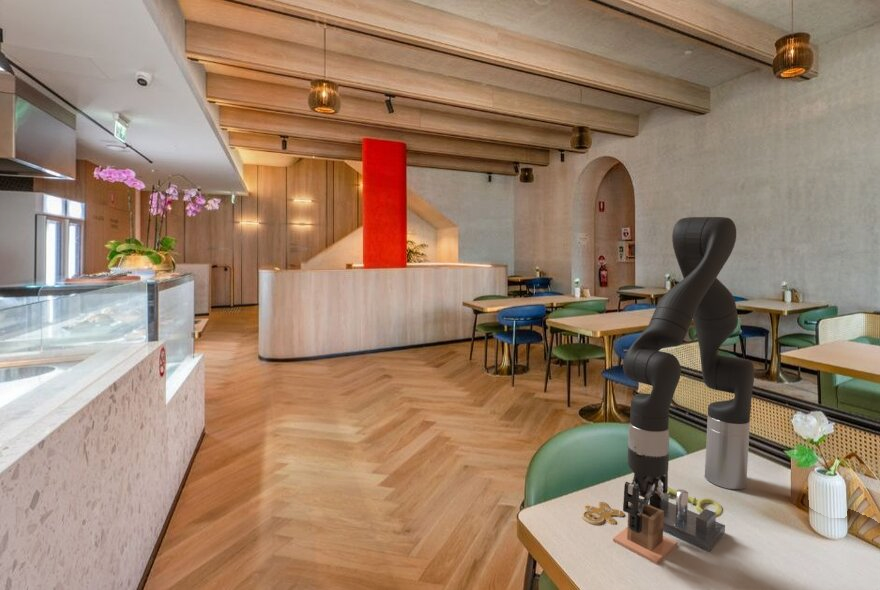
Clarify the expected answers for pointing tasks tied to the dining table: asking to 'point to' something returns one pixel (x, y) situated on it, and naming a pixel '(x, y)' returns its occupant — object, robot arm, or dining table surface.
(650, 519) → the sleeve
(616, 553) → the dining table surface
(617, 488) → the dining table surface
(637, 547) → the tile
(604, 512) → the cookie
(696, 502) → the key
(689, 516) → the grey clamp base
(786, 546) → the dining table surface
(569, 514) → the dining table surface
